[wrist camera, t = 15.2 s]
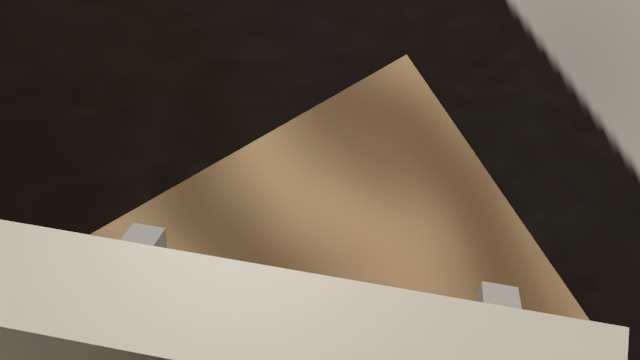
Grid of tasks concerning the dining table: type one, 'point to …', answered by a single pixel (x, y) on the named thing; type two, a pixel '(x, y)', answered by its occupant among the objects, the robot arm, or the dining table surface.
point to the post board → (362, 201)
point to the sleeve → (248, 311)
